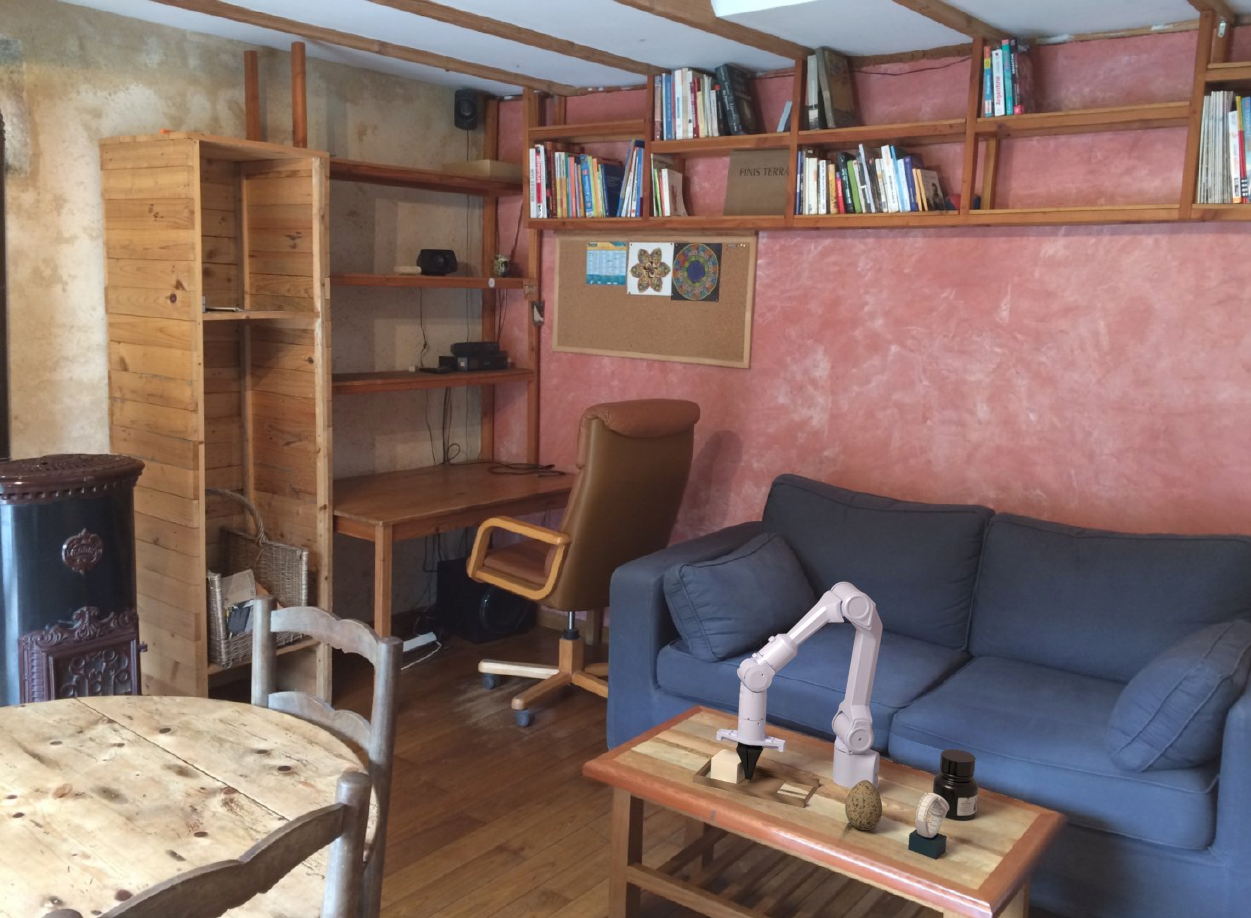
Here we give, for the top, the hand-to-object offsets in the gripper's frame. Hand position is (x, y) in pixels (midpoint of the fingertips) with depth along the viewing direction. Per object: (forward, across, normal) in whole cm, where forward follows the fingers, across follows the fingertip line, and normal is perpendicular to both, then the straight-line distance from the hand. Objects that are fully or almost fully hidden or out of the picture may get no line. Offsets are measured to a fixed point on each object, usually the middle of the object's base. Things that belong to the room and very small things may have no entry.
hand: (748, 777), depth 233 cm
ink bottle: (+3, -41, -9) cm, 42 cm away
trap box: (+3, -2, 0) cm, 3 cm away
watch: (+3, -38, +11) cm, 40 cm away
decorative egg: (+3, -25, +7) cm, 26 cm away
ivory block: (+1, +5, -1) cm, 5 cm away
